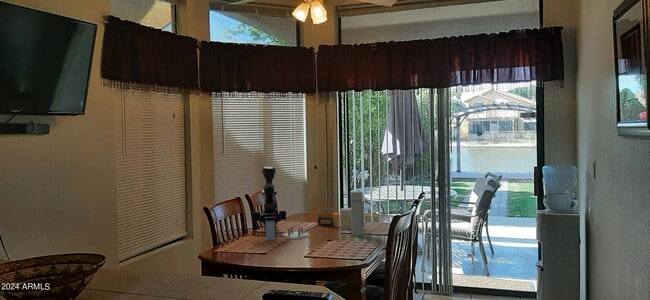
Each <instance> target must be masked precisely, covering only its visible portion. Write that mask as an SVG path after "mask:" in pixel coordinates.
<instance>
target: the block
mask: <svg viewBox="0 0 650 300" xmlns="http://www.w3.org/2000/svg"><path fill="white" fill-rule="evenodd" d="M275 229H276V228H275V221H266V229H265V240H266V241H275V240H276V230H275Z"/></svg>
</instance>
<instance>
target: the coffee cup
mask: <svg viewBox="0 0 650 300" xmlns="http://www.w3.org/2000/svg"><path fill="white" fill-rule="evenodd" d="M339 211H340V212H339V214H340V216H339V217H340V224H341V226H340V227H341V229H342V230H351V207H342V208H340V209H339Z"/></svg>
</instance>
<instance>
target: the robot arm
mask: <svg viewBox="0 0 650 300" xmlns="http://www.w3.org/2000/svg"><path fill="white" fill-rule="evenodd" d="M261 172H262V175H263V178H264V180H265V185H264V186H263V189H262V196H263V197H264V206H263V207H264V209H263V210H262V211H263V212H261V211H253V214H252V216H253V222H260V223H261V224H262V225H263V229H265V230H266V221H275V229H276V228H278V226H277V225H278V223H279V222H280V221H283V220H287V211H286V210H279V211H278V209H277V208H278V202H277V201H275V196H276V195H277V194H278V192H277V191H276V189H275V185H274V184H273V180H274V179H275V175H276V168H275V167H274V166H264V167H263V168H262V171H261Z"/></svg>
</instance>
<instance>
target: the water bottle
mask: <svg viewBox="0 0 650 300" xmlns="http://www.w3.org/2000/svg"><path fill="white" fill-rule="evenodd" d="M350 208H351V229H350V230H351V232H350V233H351V235H352V236H354V237H362V236H363V235H364V233H365V231H364V228H366V227H367V225H364V224H365V222H367V216H366V215H365V214H366V210H365V200H364V194H363V191H357V190H356V191H350Z"/></svg>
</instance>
